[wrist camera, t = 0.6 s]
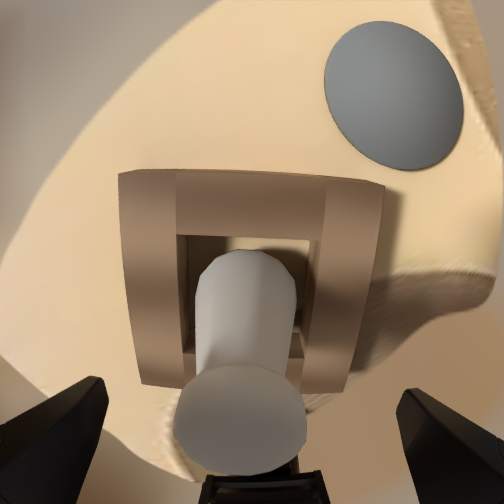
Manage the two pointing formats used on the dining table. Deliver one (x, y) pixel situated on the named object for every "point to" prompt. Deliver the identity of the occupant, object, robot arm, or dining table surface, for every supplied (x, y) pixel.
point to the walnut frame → (258, 226)
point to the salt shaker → (242, 369)
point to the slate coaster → (393, 95)
